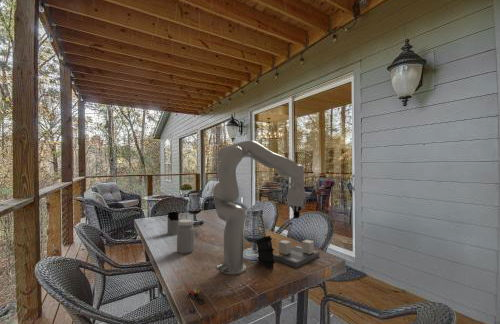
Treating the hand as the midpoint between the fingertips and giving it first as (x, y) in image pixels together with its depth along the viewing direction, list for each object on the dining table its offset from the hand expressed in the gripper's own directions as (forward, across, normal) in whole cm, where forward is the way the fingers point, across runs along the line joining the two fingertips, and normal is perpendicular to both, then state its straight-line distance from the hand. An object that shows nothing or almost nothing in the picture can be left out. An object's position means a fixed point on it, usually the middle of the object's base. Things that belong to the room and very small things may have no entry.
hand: (296, 217), depth 143 cm
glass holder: (+21, -85, -29) cm, 92 cm away
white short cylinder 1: (+18, -1, -10) cm, 20 cm away
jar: (+21, -47, -44) cm, 68 cm away
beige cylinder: (+18, +8, 0) cm, 19 cm away
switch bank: (+21, +4, -5) cm, 22 cm away
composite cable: (+22, +1, -67) cm, 70 cm away
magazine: (+21, -3, -24) cm, 32 cm away
